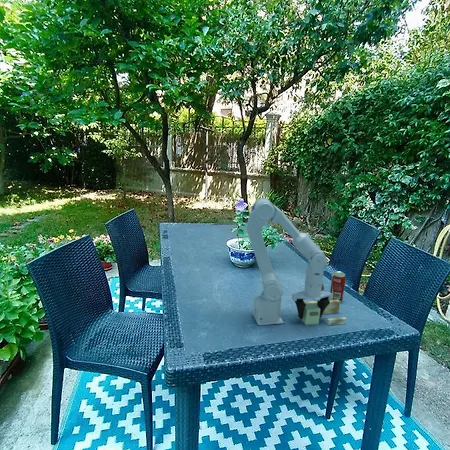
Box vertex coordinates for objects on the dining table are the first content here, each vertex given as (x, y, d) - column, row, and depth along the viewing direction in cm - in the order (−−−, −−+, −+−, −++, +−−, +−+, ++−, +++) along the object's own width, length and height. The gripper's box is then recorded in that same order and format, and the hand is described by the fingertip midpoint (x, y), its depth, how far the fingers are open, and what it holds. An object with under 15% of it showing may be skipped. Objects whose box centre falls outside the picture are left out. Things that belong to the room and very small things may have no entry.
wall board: (308, 327, 103) (310, 314, 101) (298, 314, 111) (299, 302, 110) (349, 323, 106) (351, 311, 105) (336, 311, 114) (337, 299, 113)
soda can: (331, 295, 127) (335, 269, 124) (344, 299, 124) (347, 273, 121) (327, 300, 123) (330, 273, 120) (339, 304, 120) (343, 277, 117)
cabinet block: (306, 326, 103) (308, 311, 102) (300, 318, 108) (301, 303, 107) (319, 325, 104) (321, 310, 103) (312, 317, 109) (314, 302, 108)
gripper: (299, 288, 98) (295, 324, 101) (338, 286, 101) (333, 321, 104) (290, 279, 104) (287, 313, 108) (327, 277, 107) (323, 311, 110)
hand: (309, 316), depth 106 cm, fingers open, 7 cm apart
